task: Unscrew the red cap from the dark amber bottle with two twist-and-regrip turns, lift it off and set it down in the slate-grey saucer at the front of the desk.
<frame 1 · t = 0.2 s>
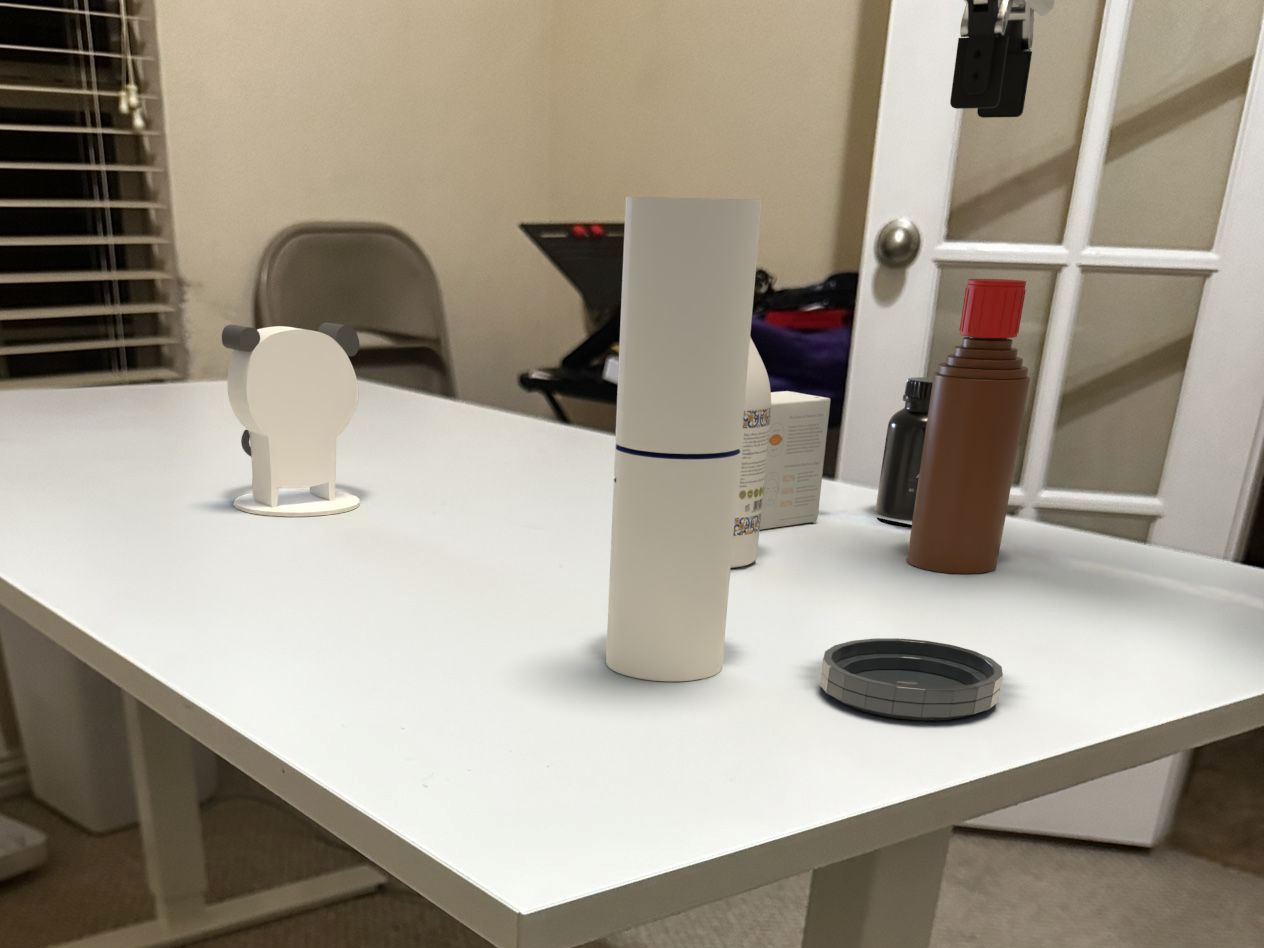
hand: (987, 112, 97), 31 cm above the table, tool pointing down, fingers open, 9 cm apart
small box: (764, 523, 123), on the table
cap: (996, 284, 100), point 20 cm above the table, screwed on, not yet turned
bath foam: (712, 562, 109), on the table
saucer: (906, 696, 79), on the table
bottle: (951, 563, 110), on the table
cylindrical container: (663, 666, 84), on the table
supplement bottle: (912, 524, 124), on the table
panda figurine: (300, 506, 126), on the table
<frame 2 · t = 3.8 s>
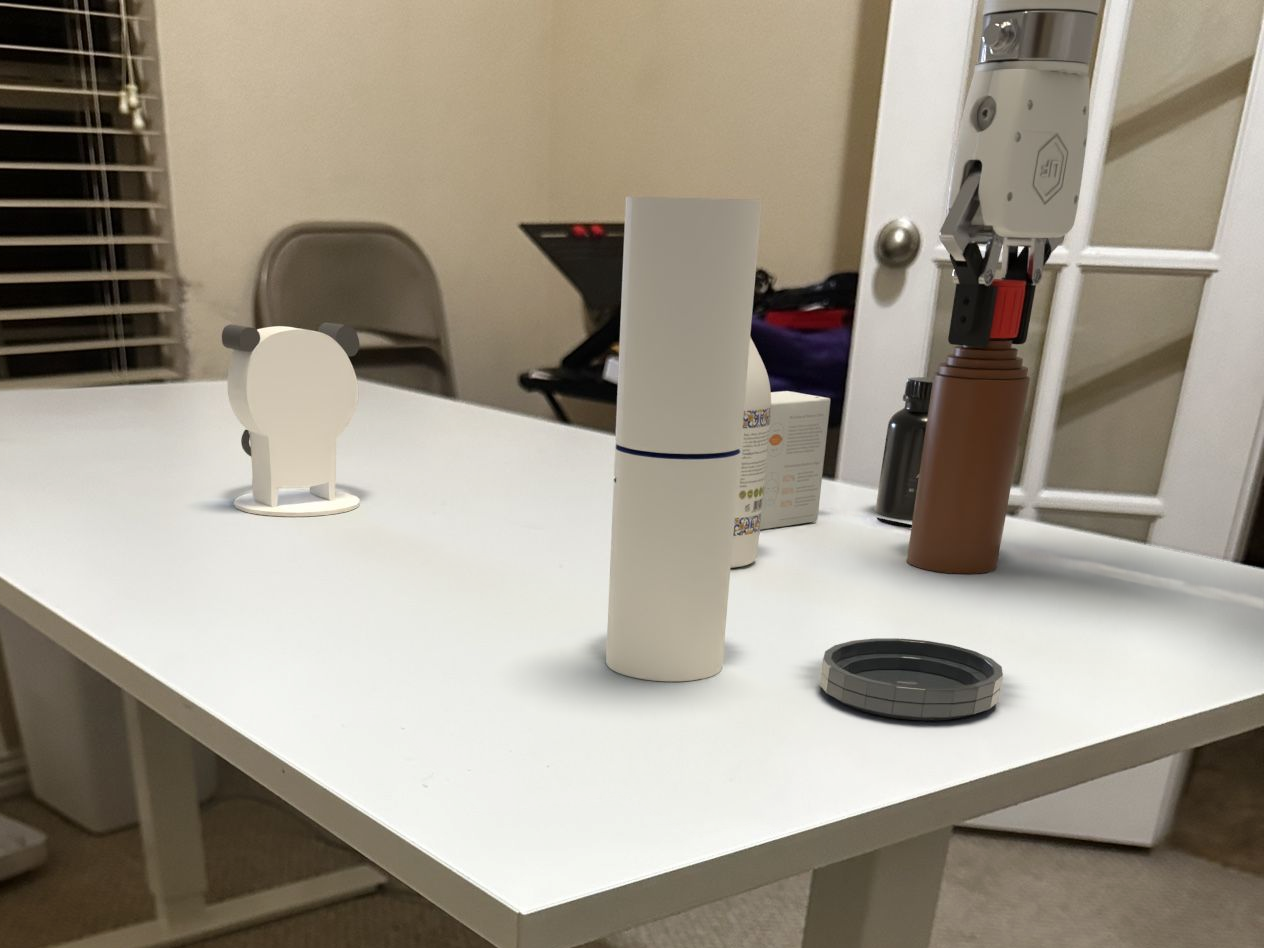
hand: (987, 341, 102), 16 cm above the table, tool pointing down, fingers closed on cap, 4 cm apart
cap: (996, 284, 100), point 20 cm above the table, screwed on, not yet turned, touching gripper
everything else where it was.
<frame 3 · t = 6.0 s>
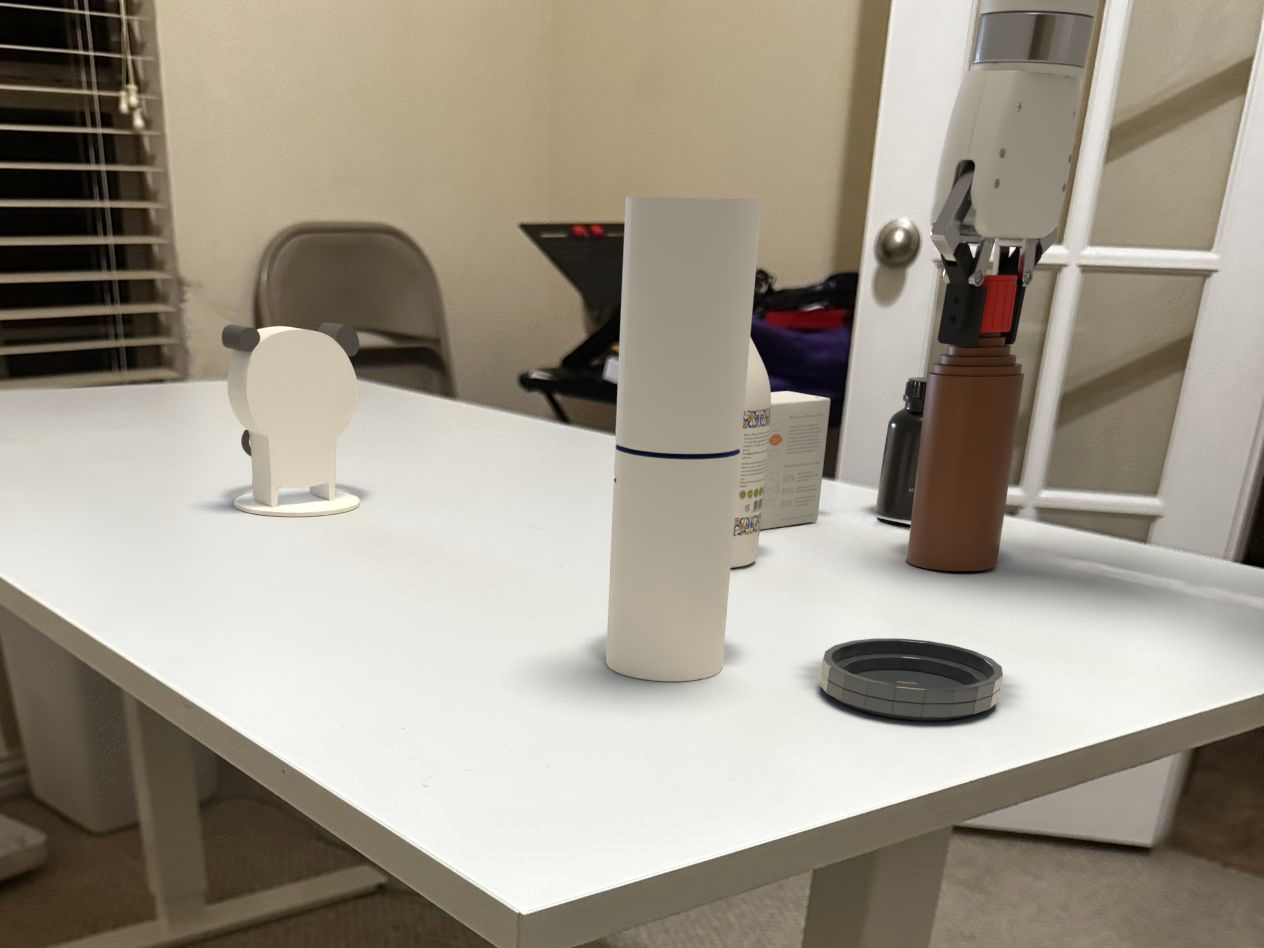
hand: (976, 341, 102), 16 cm above the table, tool pointing down, fingers closed on cap, 4 cm apart
cap: (987, 279, 100), point 20 cm above the table, turned 180° so far, risen 0.2 cm, still on its thread, touching gripper
bottle: (951, 562, 110), on the table, touching gripper
everything else where it was.
when the fingers open (16 cm above the table, at t = 10.9 s): cap stays where it is, point 20 cm above the table.
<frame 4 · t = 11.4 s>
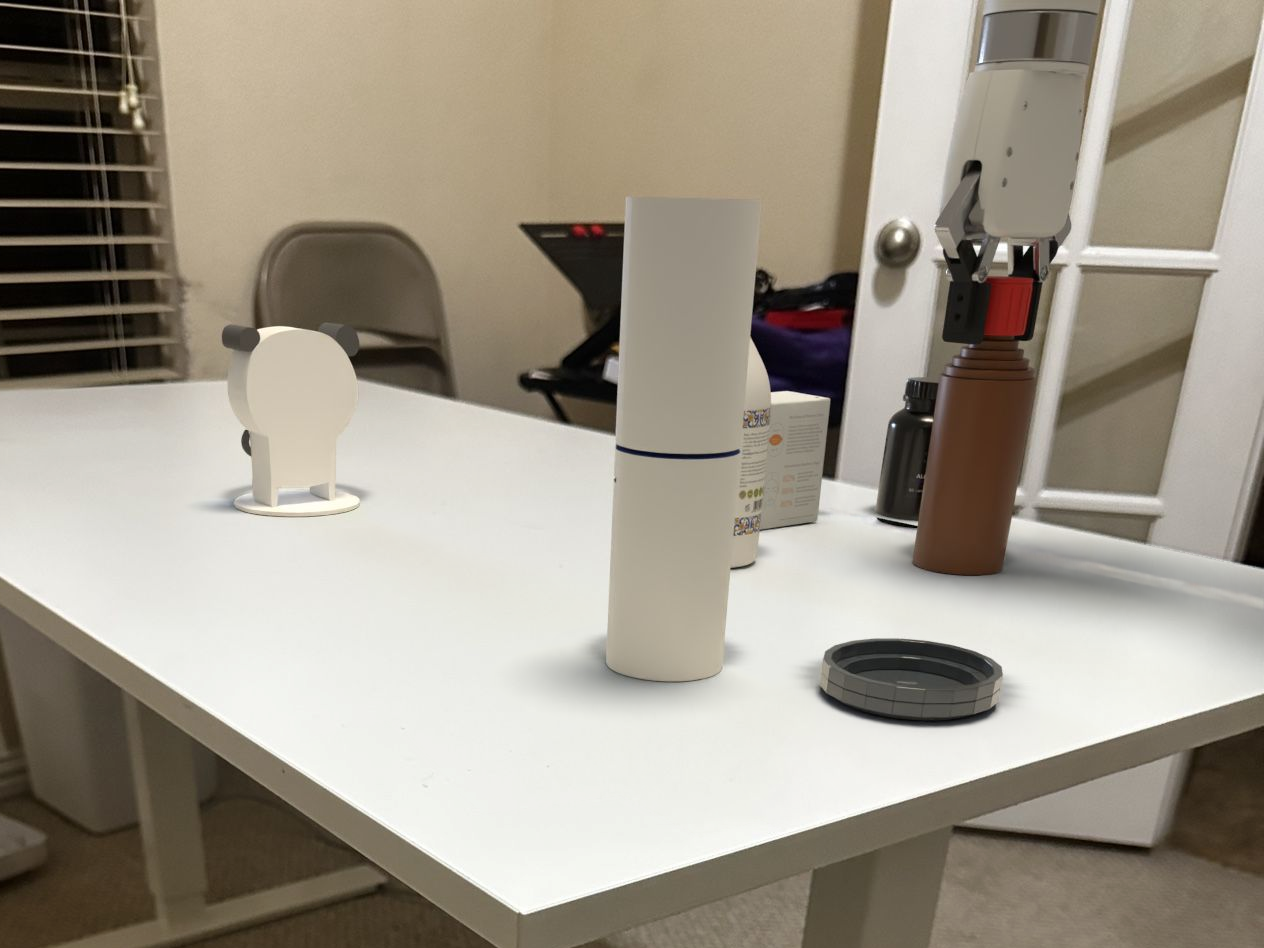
hand: (987, 338, 102), 16 cm above the table, tool pointing down, fingers open, 5 cm apart
cap: (1003, 282, 100), point 20 cm above the table, turned 179° so far, risen 0.2 cm, still on its thread
bottle: (957, 565, 109), on the table
everything else where it was.
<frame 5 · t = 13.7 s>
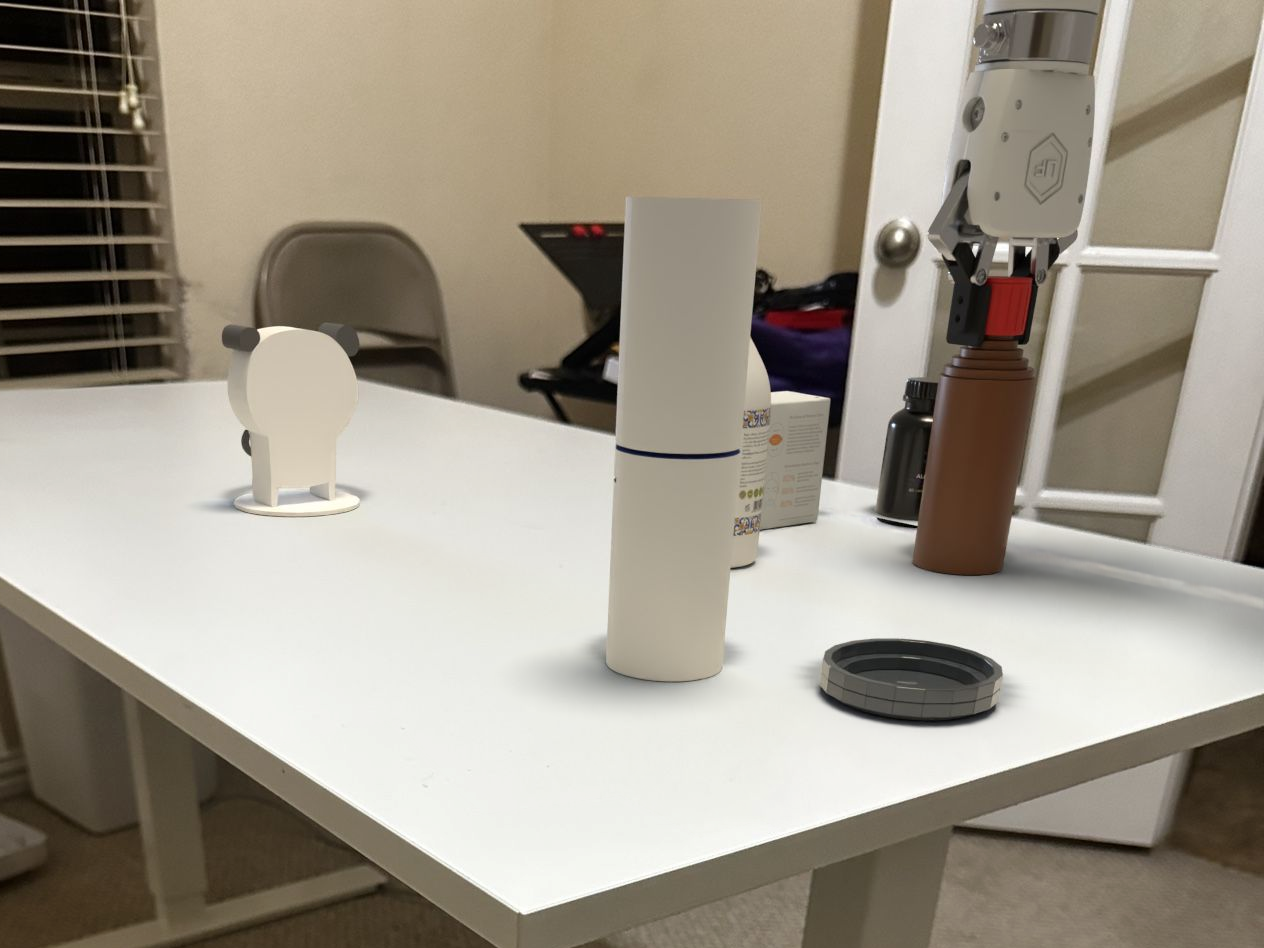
hand: (987, 341, 102), 16 cm above the table, tool pointing down, fingers closed on cap, 4 cm apart
cap: (1002, 281, 99), point 20 cm above the table, turned 179° so far, risen 0.2 cm, still on its thread, touching gripper
everything else where it was.
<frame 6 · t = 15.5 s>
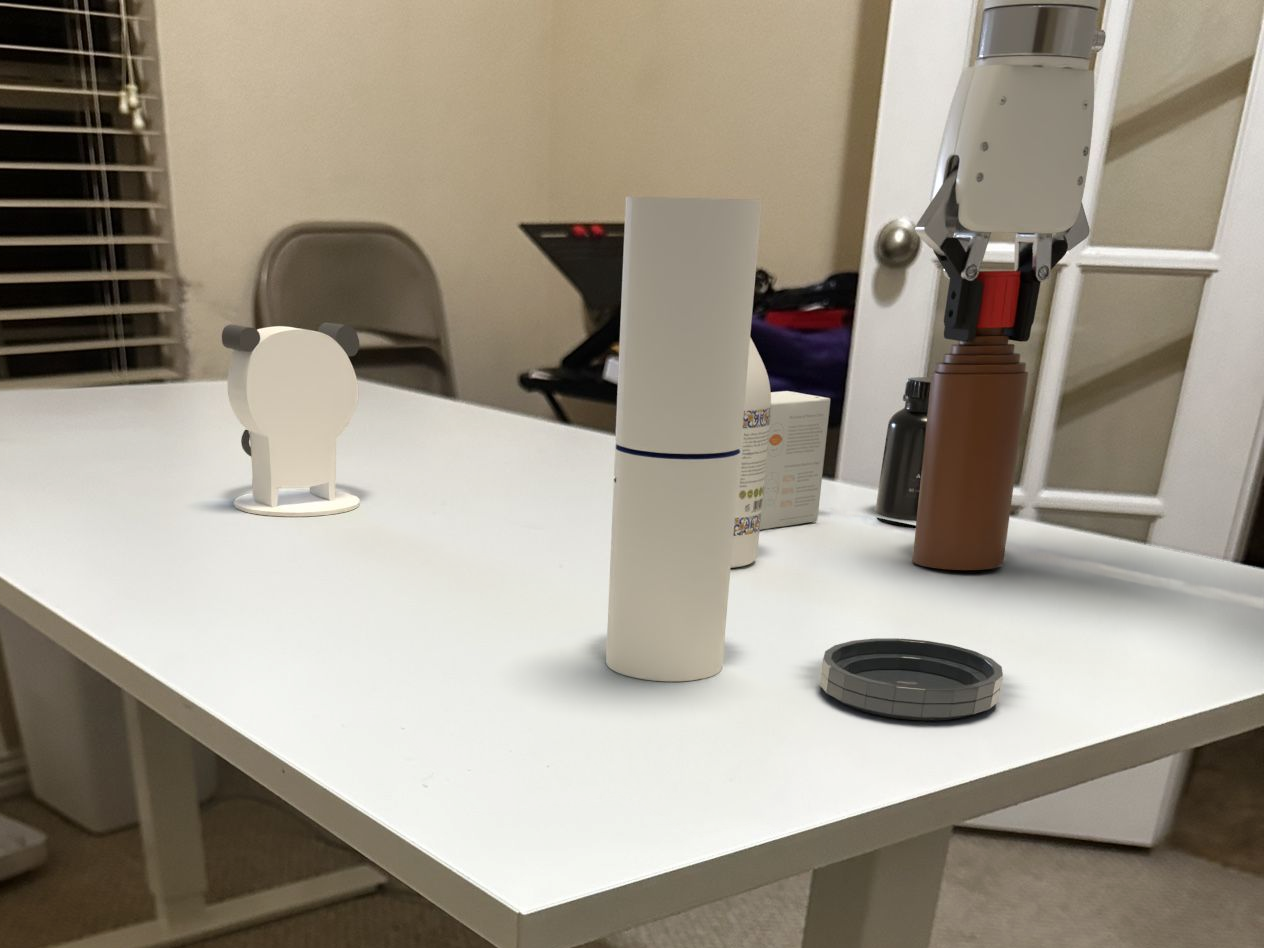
hand: (986, 337, 102), 17 cm above the table, tool pointing down, fingers closed on cap, 4 cm apart
cap: (990, 275, 100), point 21 cm above the table, turned 350° so far, risen 0.4 cm, still on its thread, touching gripper
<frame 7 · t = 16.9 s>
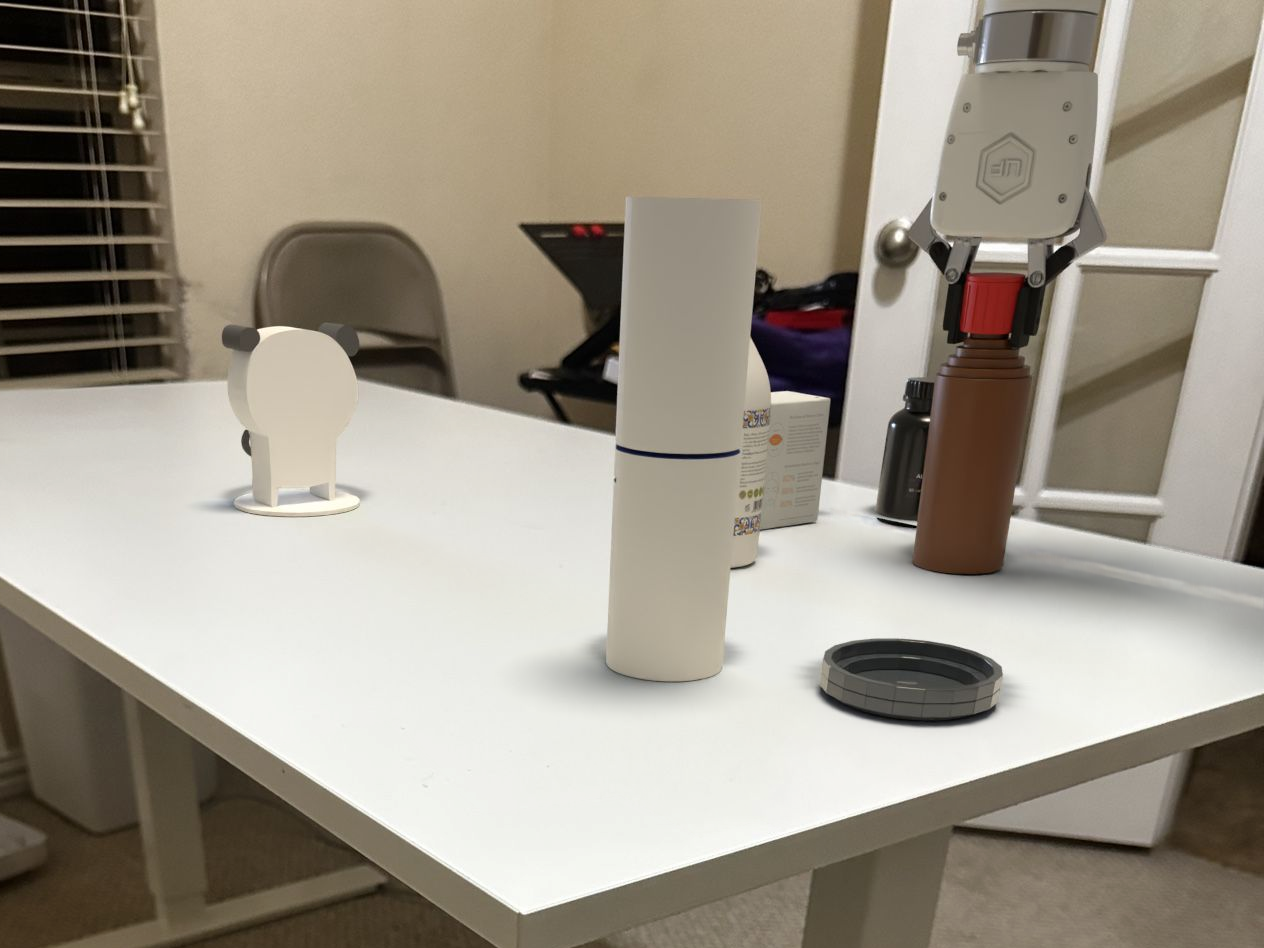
hand: (987, 341, 102), 16 cm above the table, tool pointing down, fingers closed on cap, 4 cm apart
cap: (995, 279, 99), point 20 cm above the table, off its thread, touching bottle, gripper
bottle: (957, 564, 109), on the table, touching cap, gripper
everything else where it was.
when the fingers open (2 cm above the table, at t = 28.2 s): cap drops 2 cm, resting on saucer.
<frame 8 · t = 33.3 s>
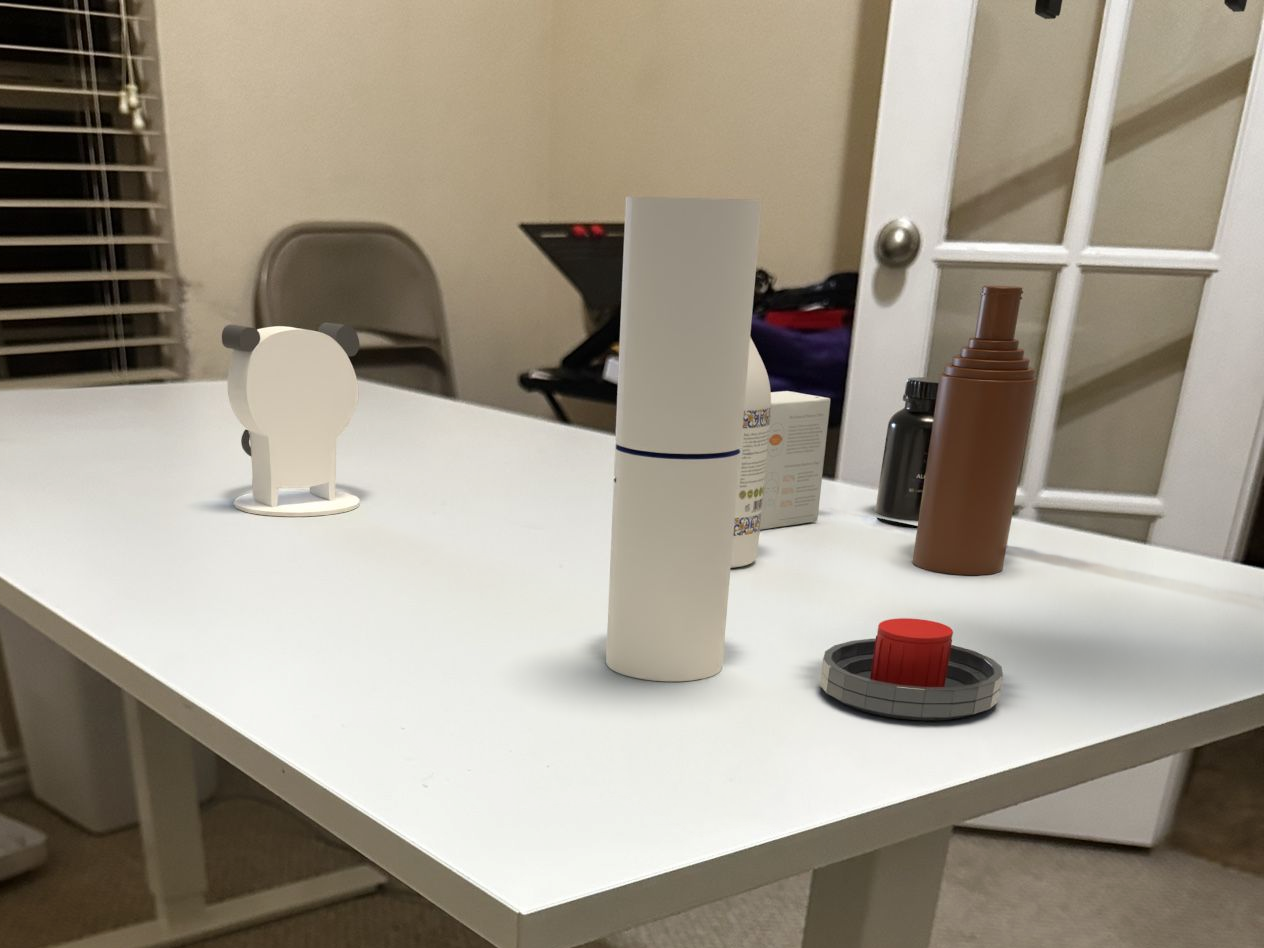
hand: (1137, 12, 74), 34 cm above the table, tool pointing down, fingers open, 9 cm apart
cap: (914, 633, 77), point 4 cm above the table, off its thread, touching saucer
bottle: (957, 565, 109), on the table
everything else where it was.
at the end: cap came off its thread; cap inside the target area in the saucer (0.4 cm from its centre), point 3.8 cm above the saucer's base; the gripper is holding nothing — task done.
